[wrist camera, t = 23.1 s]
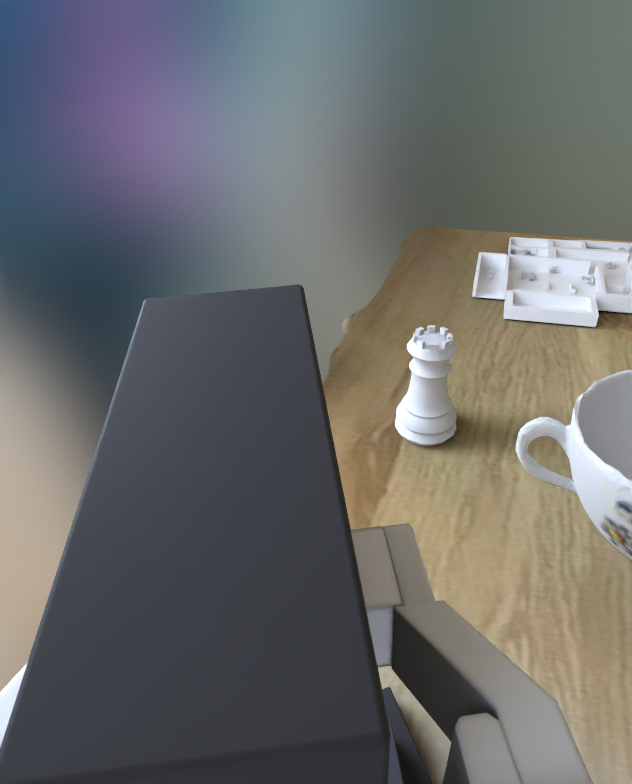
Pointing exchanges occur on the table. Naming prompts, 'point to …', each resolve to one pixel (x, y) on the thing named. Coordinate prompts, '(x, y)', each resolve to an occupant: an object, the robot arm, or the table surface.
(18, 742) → the dark grey block
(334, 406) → the table surface
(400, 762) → the base pad
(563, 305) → the floor plan model
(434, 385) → the rook chess piece
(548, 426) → the teacup
